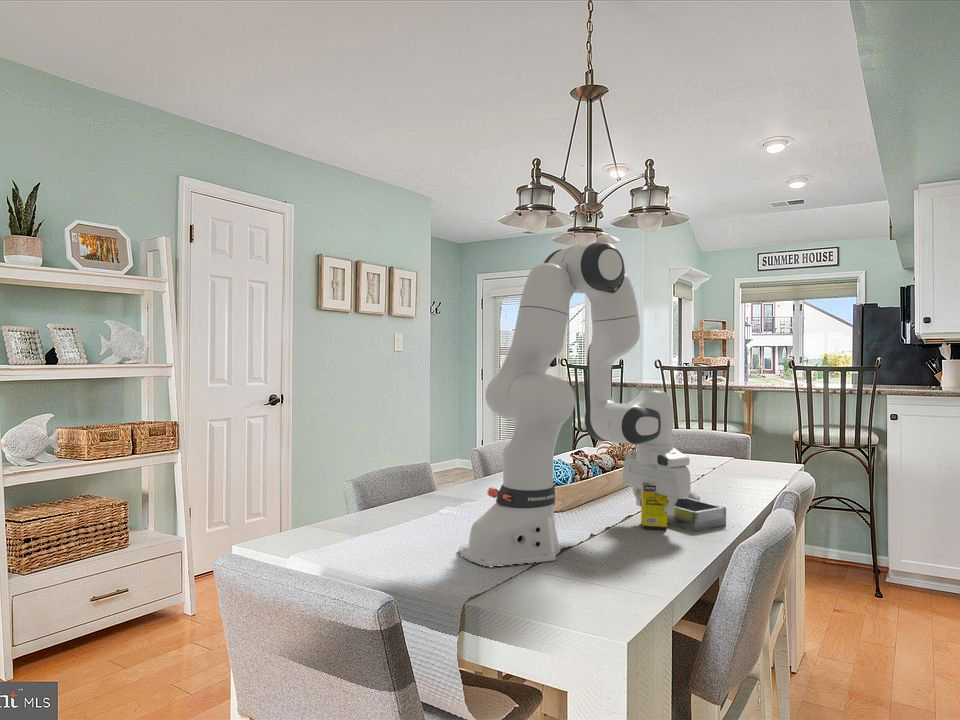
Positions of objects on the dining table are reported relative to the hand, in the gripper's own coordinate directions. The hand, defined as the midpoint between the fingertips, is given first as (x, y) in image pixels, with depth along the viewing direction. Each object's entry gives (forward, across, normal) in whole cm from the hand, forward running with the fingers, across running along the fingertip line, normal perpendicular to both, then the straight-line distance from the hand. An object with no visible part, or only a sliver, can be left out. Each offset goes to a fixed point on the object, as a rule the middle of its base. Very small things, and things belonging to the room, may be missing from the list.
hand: (654, 509), depth 163 cm
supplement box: (+4, 0, 0) cm, 4 cm away
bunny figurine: (+4, -17, +24) cm, 30 cm away
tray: (+4, 0, +11) cm, 12 cm away
